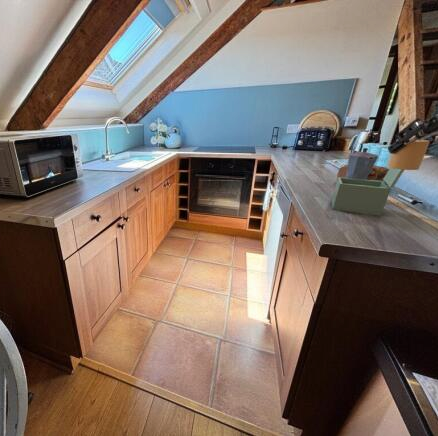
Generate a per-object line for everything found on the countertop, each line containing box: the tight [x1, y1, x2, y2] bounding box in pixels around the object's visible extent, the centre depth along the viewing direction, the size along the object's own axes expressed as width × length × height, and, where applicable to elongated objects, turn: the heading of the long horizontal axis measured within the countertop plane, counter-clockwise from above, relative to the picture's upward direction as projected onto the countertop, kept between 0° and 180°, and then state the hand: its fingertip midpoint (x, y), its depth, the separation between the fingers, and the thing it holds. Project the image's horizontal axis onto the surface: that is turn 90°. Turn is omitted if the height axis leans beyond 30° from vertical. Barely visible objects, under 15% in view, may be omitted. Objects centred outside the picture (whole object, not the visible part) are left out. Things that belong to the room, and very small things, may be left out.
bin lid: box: [383, 168, 405, 189], centre depth 81 cm, size 14×12×1 cm
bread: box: [336, 164, 390, 185], centre depth 119 cm, size 19×11×10 cm, turn 73°
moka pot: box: [345, 147, 379, 180], centre depth 103 cm, size 10×15×20 cm, turn 170°
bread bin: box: [331, 177, 392, 217], centre depth 90 cm, size 14×12×10 cm
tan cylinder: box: [386, 139, 430, 171], centre depth 63 cm, size 6×6×7 cm
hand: (401, 150), depth 65 cm, fingers closed on tan cylinder, 6 cm apart
